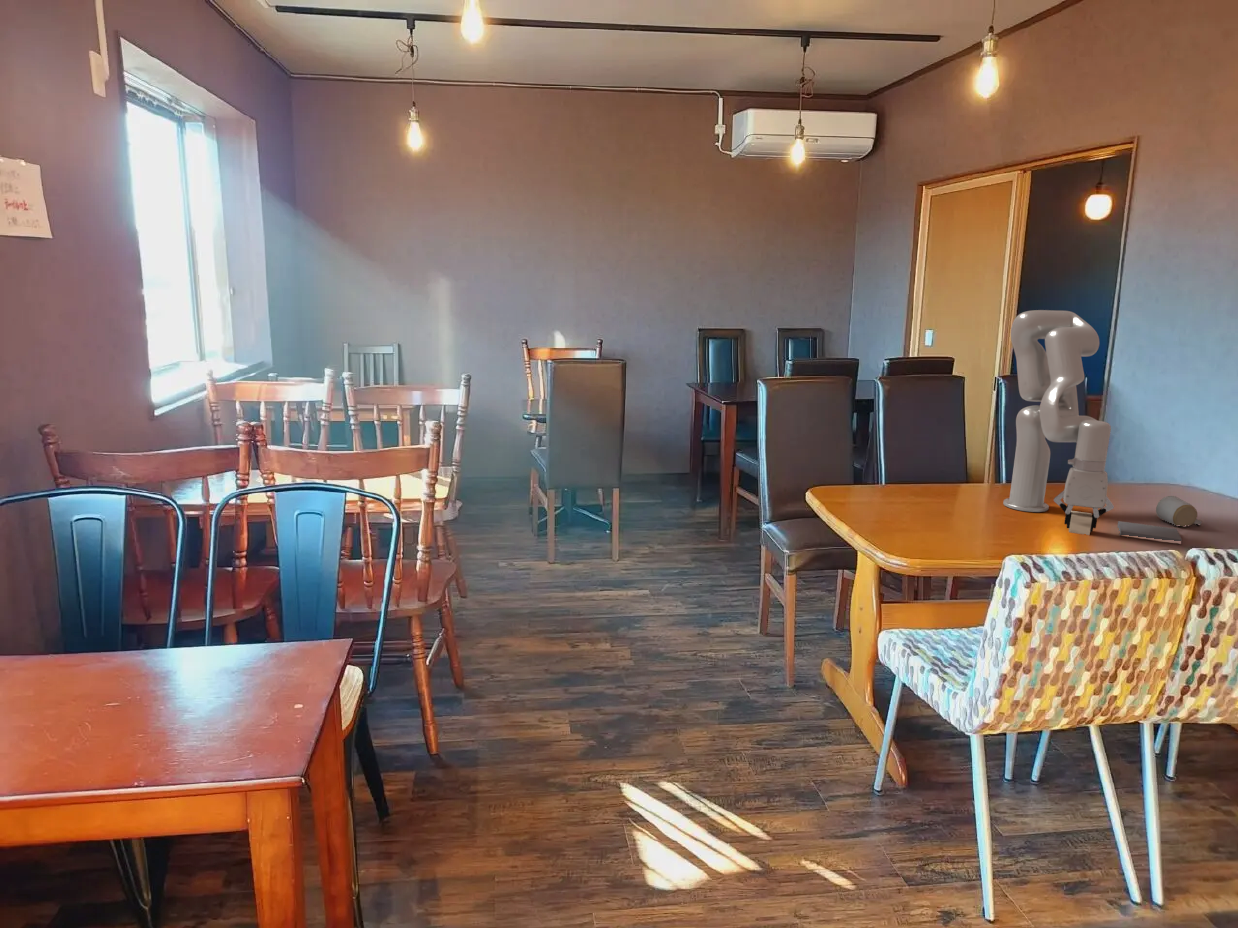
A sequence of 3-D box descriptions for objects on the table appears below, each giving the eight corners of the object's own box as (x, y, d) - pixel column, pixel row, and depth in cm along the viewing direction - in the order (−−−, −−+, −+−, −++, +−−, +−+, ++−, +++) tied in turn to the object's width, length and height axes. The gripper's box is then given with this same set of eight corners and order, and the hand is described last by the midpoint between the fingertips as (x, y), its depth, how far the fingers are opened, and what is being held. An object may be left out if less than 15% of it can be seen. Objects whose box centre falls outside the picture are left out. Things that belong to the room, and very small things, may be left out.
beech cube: (1068, 527, 231) (1071, 510, 229) (1088, 530, 228) (1091, 513, 227) (1069, 532, 226) (1071, 515, 225) (1089, 535, 224) (1092, 517, 223)
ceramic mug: (1172, 528, 231) (1177, 502, 230) (1153, 519, 239) (1158, 494, 238) (1208, 529, 232) (1213, 503, 230) (1188, 521, 240) (1193, 496, 238)
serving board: (1117, 526, 233) (1118, 521, 232) (1175, 533, 226) (1176, 528, 226) (1120, 536, 223) (1121, 531, 223) (1180, 544, 217) (1181, 539, 217)
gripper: (1054, 464, 223) (1045, 527, 228) (1126, 472, 216) (1115, 537, 220) (1054, 459, 230) (1045, 520, 234) (1124, 466, 222) (1113, 529, 226)
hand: (1079, 527), depth 227 cm, fingers closed on beech cube, 5 cm apart
